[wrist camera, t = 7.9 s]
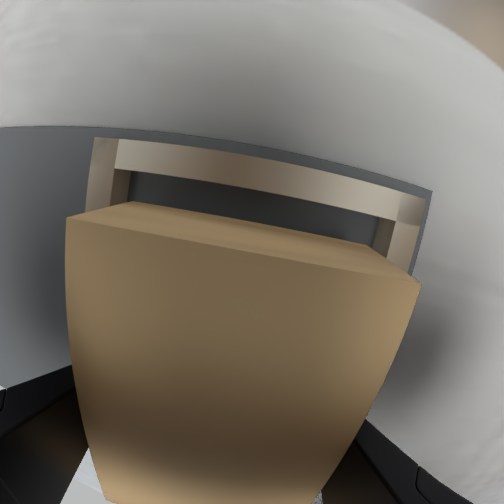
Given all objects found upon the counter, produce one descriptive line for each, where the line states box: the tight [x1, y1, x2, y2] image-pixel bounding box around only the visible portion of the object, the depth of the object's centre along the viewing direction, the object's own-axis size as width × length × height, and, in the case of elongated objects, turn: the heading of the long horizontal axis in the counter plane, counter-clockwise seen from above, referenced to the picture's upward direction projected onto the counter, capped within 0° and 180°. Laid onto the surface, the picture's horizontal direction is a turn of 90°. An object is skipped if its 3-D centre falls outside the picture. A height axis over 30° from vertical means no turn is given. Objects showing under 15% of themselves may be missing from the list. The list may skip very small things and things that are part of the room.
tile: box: [65, 201, 422, 504], centre depth 7 cm, size 9×6×3 cm, turn 169°
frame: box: [85, 137, 426, 273], centre depth 9 cm, size 9×12×1 cm
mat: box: [0, 126, 432, 389], centre depth 10 cm, size 22×13×1 cm, turn 79°
